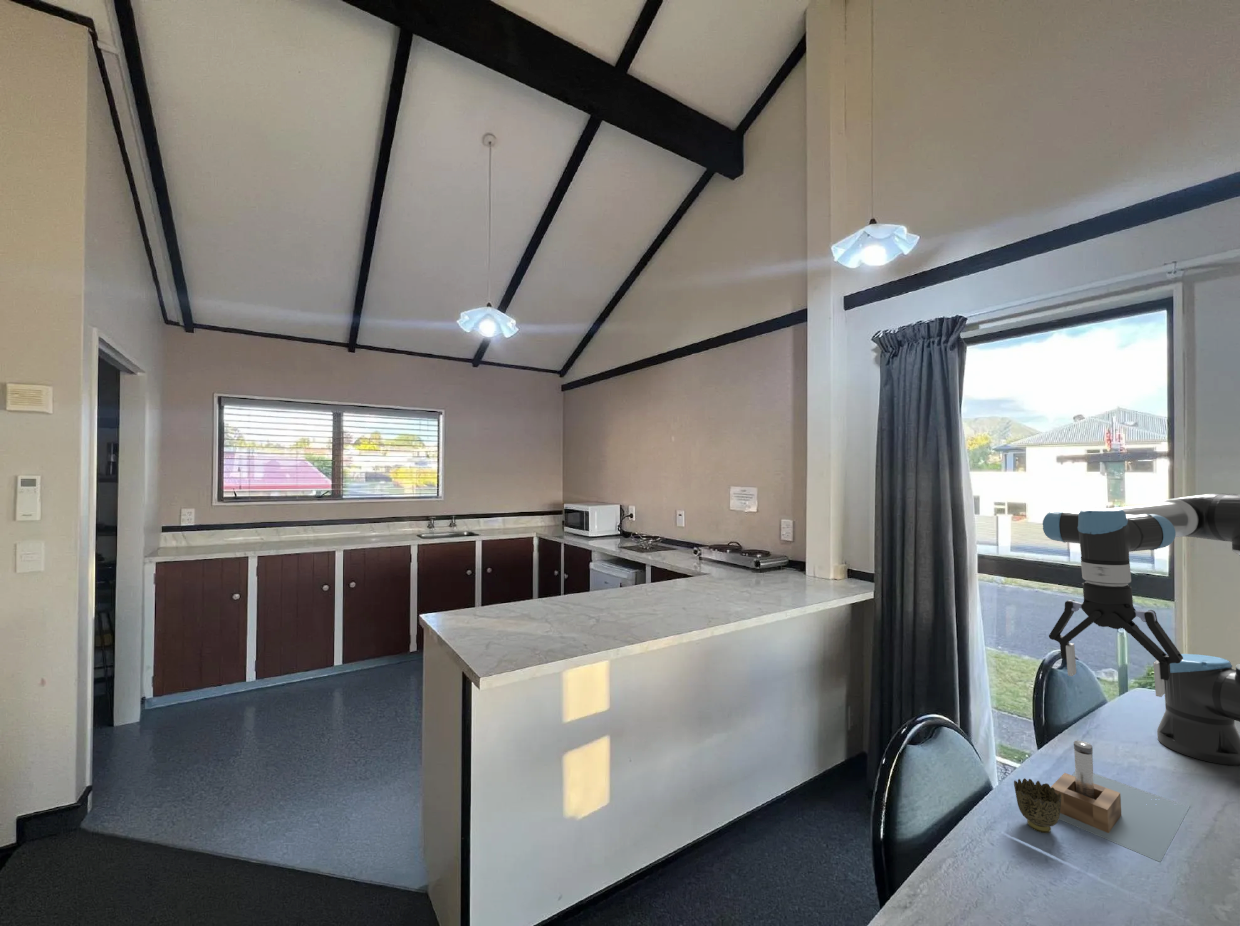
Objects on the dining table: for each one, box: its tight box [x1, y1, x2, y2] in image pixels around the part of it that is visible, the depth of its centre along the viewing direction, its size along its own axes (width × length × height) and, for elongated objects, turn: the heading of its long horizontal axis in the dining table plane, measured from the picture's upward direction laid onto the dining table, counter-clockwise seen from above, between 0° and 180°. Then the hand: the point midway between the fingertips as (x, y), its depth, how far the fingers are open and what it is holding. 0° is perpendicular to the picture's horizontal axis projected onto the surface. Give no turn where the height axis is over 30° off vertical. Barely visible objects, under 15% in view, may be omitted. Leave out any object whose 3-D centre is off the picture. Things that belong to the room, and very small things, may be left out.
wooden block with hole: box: [1050, 772, 1121, 833], centre depth 107 cm, size 9×9×4 cm
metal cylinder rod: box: [1073, 740, 1094, 799], centre depth 107 cm, size 3×3×14 cm
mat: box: [1058, 771, 1190, 863], centre depth 108 cm, size 26×18×1 cm
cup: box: [1013, 777, 1062, 834], centre depth 103 cm, size 8×7×8 cm
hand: (1113, 684), depth 107 cm, fingers open, 13 cm apart
